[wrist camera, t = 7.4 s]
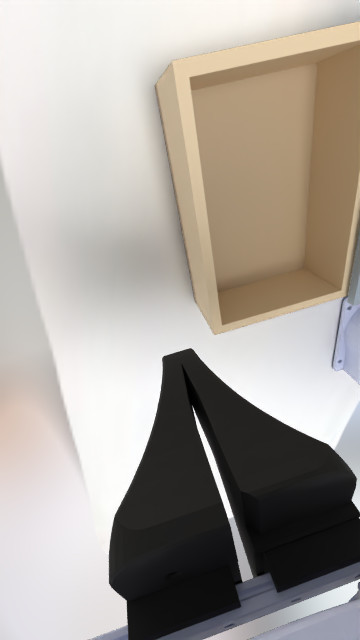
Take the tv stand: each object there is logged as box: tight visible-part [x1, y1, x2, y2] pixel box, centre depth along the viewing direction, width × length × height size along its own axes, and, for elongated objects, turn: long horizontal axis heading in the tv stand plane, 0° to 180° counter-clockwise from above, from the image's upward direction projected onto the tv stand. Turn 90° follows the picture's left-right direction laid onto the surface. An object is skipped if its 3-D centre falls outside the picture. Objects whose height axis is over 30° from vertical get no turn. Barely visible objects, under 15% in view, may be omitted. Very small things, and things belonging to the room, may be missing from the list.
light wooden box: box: [155, 21, 360, 335], centre depth 17 cm, size 14×10×5 cm
